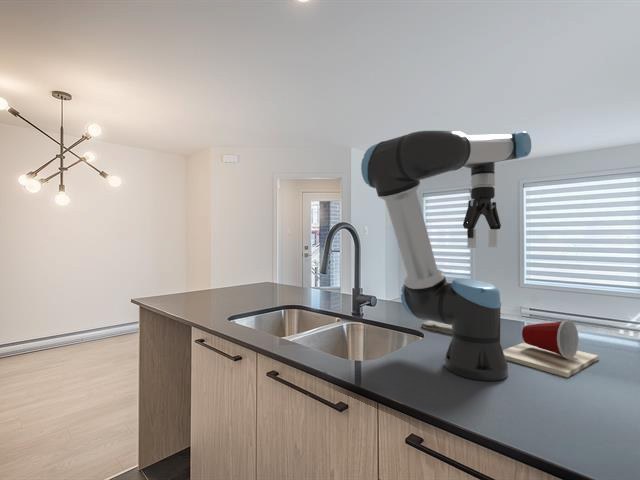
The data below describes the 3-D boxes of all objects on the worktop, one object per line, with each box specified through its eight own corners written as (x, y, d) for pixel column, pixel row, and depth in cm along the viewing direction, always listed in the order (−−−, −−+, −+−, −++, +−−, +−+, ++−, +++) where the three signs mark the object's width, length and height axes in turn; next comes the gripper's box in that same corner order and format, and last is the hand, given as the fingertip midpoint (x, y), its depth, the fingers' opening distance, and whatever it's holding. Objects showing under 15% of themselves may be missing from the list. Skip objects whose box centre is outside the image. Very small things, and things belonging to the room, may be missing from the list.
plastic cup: (528, 360, 102) (572, 368, 92) (511, 333, 101) (554, 337, 90) (543, 336, 107) (586, 341, 96) (527, 310, 105) (569, 311, 95)
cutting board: (567, 377, 83) (567, 372, 83) (495, 356, 98) (495, 352, 98) (598, 359, 96) (598, 355, 96) (530, 343, 111) (530, 340, 111)
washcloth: (434, 323, 139) (434, 316, 139) (478, 332, 126) (478, 324, 126) (419, 329, 131) (419, 321, 131) (464, 339, 118) (464, 330, 118)
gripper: (491, 191, 128) (491, 246, 128) (452, 185, 114) (452, 247, 114) (511, 189, 122) (511, 247, 122) (472, 182, 108) (472, 248, 108)
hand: (482, 247), depth 118 cm, fingers open, 13 cm apart
